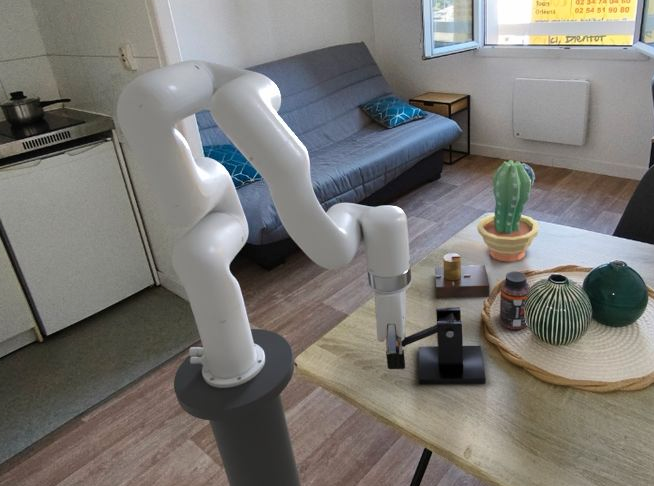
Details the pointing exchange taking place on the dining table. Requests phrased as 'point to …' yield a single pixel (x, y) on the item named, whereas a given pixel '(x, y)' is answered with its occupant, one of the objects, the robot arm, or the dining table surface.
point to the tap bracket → (450, 355)
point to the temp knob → (452, 266)
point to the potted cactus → (509, 213)
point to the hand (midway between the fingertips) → (397, 355)
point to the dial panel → (463, 283)
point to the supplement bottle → (513, 300)
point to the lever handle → (425, 331)
